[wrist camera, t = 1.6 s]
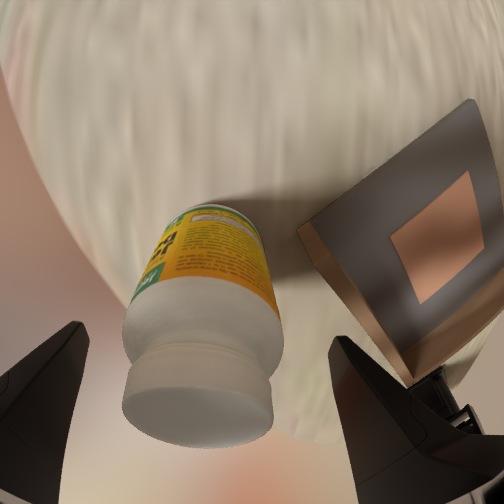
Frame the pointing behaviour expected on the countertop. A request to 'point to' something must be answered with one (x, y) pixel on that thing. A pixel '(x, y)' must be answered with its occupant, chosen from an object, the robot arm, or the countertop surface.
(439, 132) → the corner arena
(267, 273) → the supplement bottle
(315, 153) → the countertop surface
